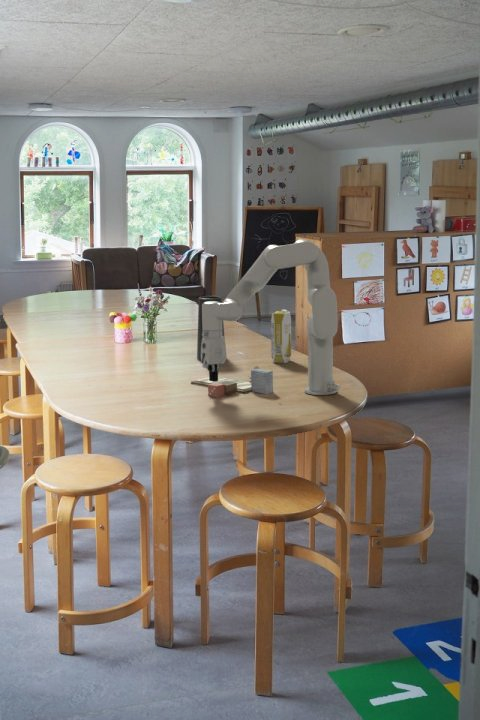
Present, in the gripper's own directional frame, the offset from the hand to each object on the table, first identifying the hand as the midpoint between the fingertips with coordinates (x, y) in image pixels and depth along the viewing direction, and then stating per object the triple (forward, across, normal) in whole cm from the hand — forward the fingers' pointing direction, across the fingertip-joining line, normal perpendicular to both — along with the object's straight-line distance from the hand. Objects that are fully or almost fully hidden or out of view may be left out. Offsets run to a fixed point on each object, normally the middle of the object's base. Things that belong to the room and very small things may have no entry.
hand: (213, 380), depth 340 cm
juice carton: (+6, +68, +22) cm, 72 cm away
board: (+6, +17, +8) cm, 20 cm away
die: (+4, +4, 0) cm, 6 cm away
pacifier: (+7, +30, +4) cm, 31 cm away
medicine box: (+6, +17, -10) cm, 21 cm away
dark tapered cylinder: (+6, +54, +53) cm, 76 cm away
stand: (+6, +7, 0) cm, 9 cm away
